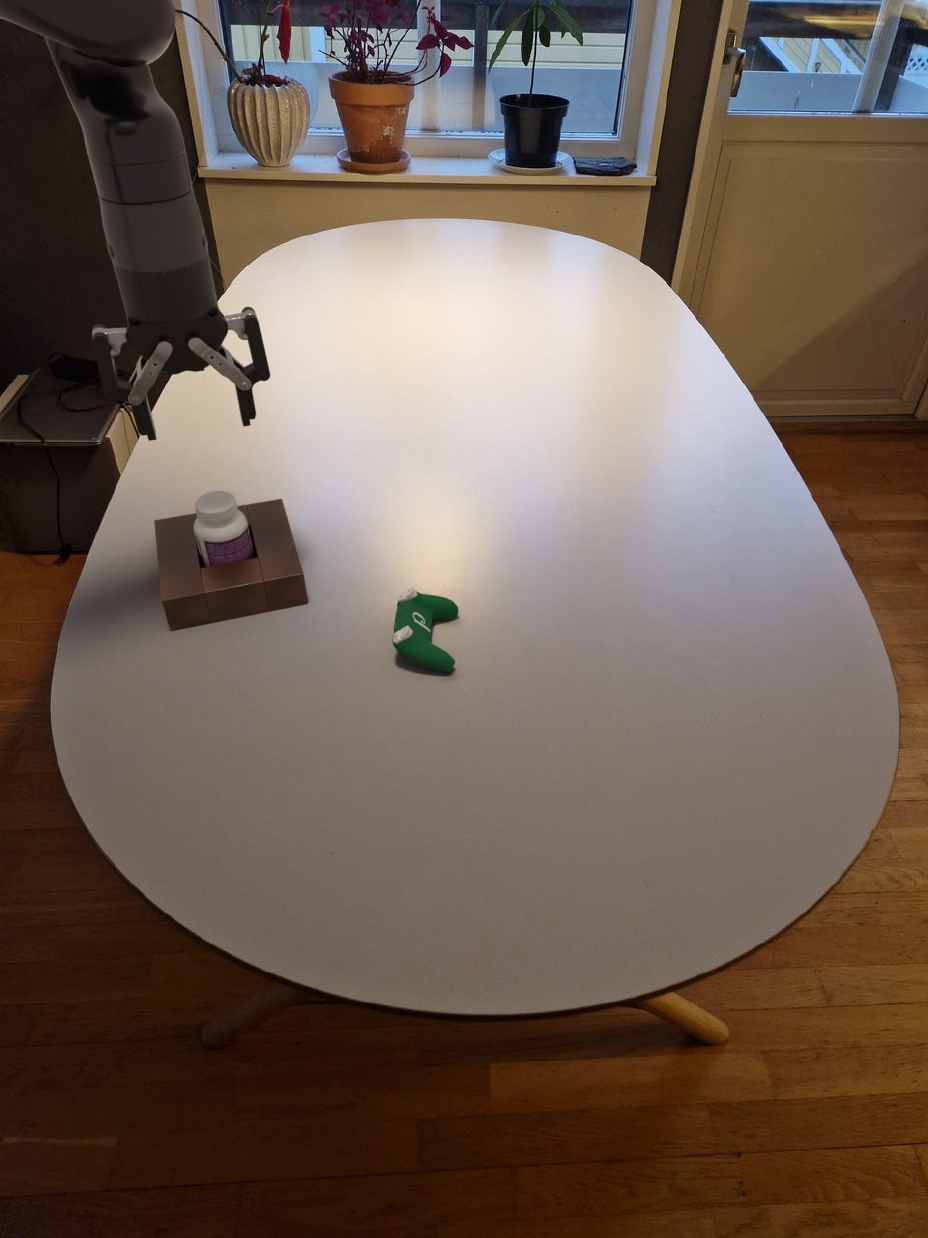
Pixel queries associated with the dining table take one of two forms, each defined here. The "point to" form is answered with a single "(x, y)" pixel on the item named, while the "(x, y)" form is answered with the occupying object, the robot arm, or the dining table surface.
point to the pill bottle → (221, 530)
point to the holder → (229, 570)
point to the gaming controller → (422, 628)
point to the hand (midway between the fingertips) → (199, 429)
